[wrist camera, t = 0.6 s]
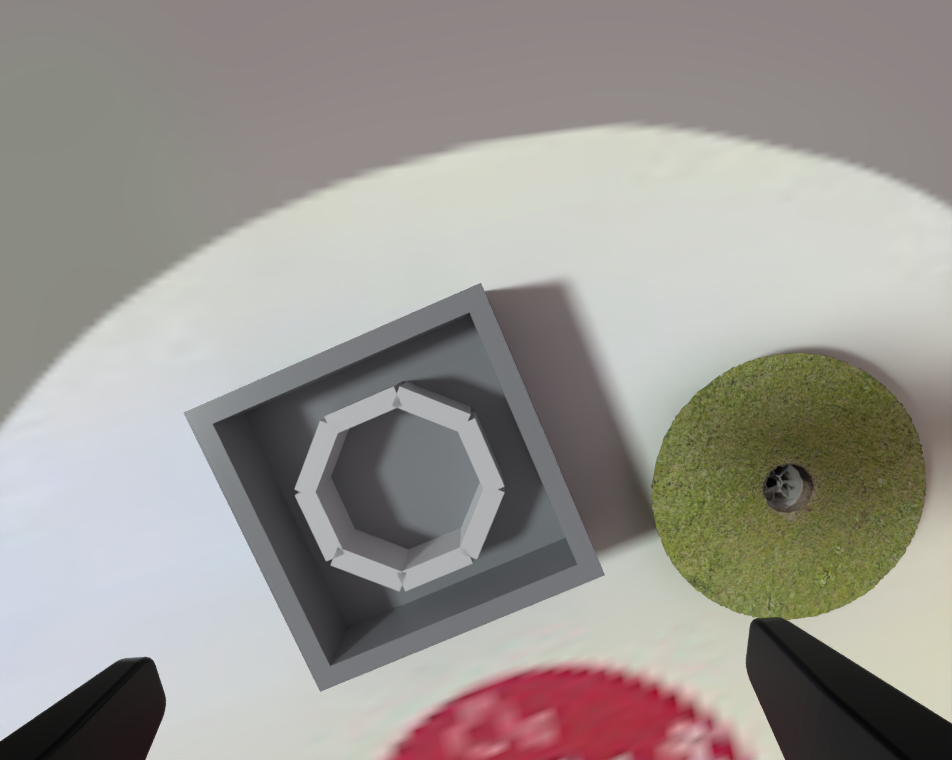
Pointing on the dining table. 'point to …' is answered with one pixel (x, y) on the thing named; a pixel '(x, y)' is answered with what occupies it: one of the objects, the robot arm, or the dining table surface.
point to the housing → (397, 489)
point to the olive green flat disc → (789, 486)
